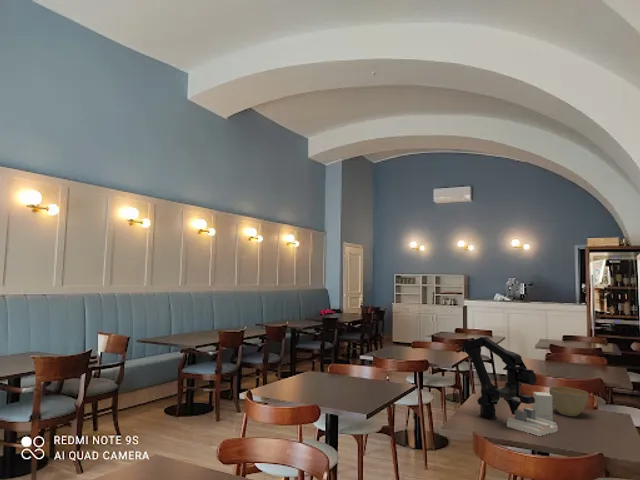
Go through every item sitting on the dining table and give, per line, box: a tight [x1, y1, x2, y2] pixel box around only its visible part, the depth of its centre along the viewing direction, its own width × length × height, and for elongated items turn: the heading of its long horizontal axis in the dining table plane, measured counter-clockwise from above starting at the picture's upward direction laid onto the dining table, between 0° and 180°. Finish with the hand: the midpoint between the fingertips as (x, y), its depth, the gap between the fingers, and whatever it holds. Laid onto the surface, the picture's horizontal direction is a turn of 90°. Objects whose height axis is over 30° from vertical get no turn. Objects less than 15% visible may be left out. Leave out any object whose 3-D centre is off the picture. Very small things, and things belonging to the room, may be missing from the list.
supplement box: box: [532, 391, 554, 422], centre depth 235 cm, size 7×7×13 cm
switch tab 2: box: [523, 407, 535, 420], centre depth 225 cm, size 4×3×5 cm
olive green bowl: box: [548, 386, 589, 417], centre depth 247 cm, size 18×18×12 cm
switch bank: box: [506, 416, 559, 437], centre depth 220 cm, size 16×15×4 cm
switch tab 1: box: [514, 409, 527, 422], centre depth 221 cm, size 4×3×5 cm
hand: (513, 414), depth 224 cm, fingers closed
